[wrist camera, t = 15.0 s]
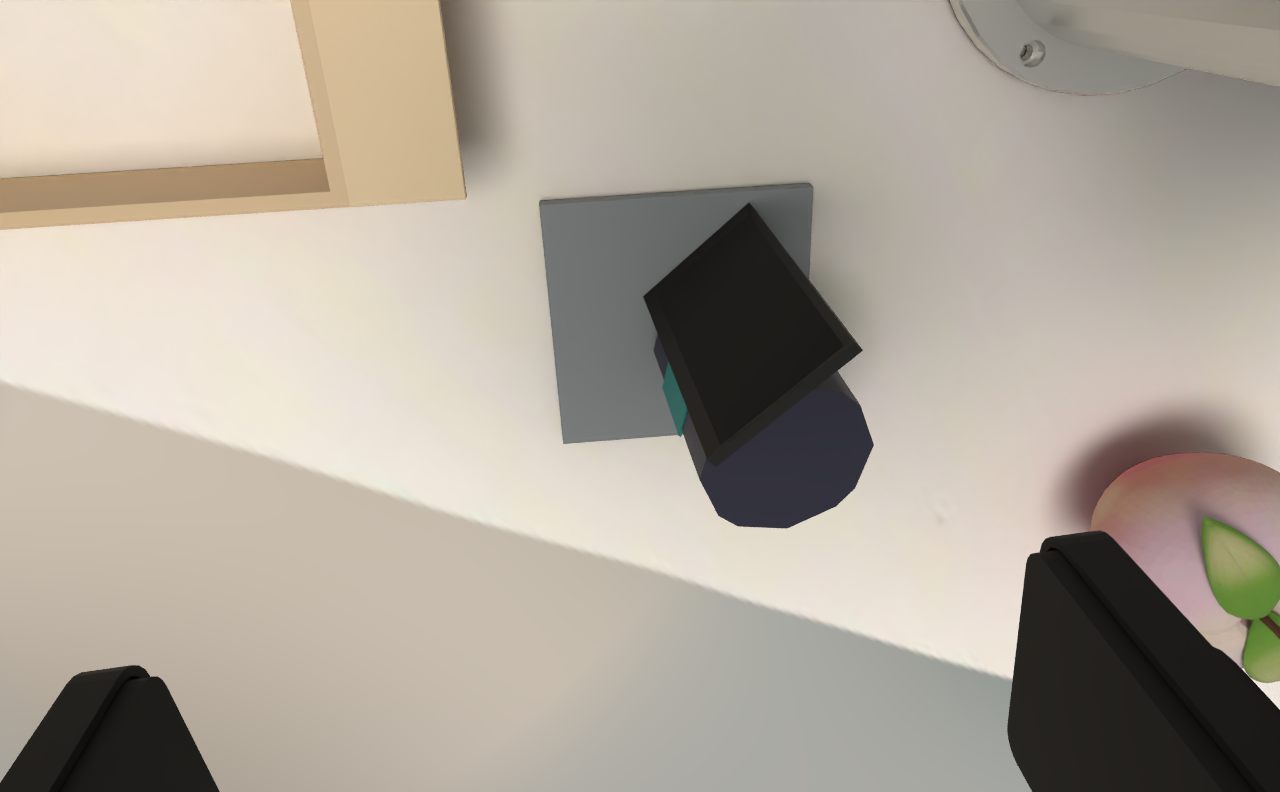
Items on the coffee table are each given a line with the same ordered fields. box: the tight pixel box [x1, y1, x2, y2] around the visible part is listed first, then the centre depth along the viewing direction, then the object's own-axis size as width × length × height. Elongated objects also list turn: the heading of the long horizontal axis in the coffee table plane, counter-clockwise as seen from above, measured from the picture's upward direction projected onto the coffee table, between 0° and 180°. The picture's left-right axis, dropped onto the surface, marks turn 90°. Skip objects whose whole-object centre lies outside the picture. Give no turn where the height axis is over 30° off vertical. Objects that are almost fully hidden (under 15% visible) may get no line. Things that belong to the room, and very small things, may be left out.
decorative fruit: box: [1090, 453, 1280, 683], centre depth 36 cm, size 9×8×10 cm
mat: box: [539, 183, 813, 444], centre depth 34 cm, size 10×10×1 cm
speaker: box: [643, 203, 874, 528], centre depth 30 cm, size 8×6×10 cm
